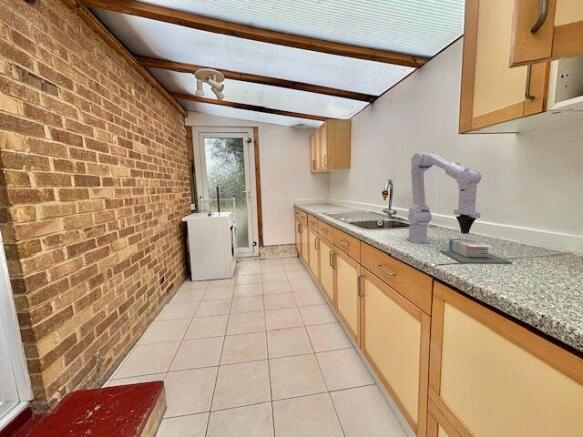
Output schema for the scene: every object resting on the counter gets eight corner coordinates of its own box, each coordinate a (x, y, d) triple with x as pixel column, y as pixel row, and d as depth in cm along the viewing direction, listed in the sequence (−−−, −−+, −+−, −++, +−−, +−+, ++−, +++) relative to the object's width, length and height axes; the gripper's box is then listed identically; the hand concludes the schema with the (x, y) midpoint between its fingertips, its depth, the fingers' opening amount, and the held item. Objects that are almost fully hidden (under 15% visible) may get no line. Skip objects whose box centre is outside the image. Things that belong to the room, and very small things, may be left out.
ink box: (448, 249, 109) (469, 259, 94) (449, 238, 108) (470, 246, 94) (469, 249, 108) (493, 259, 94) (470, 238, 108) (494, 246, 93)
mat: (439, 251, 108) (439, 250, 108) (481, 252, 106) (481, 250, 106) (461, 263, 92) (462, 261, 92) (511, 263, 90) (512, 262, 90)
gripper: (447, 199, 110) (445, 230, 112) (467, 201, 96) (465, 236, 97) (464, 199, 109) (462, 230, 111) (487, 201, 95) (484, 236, 97)
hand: (464, 233), depth 104 cm, fingers closed
